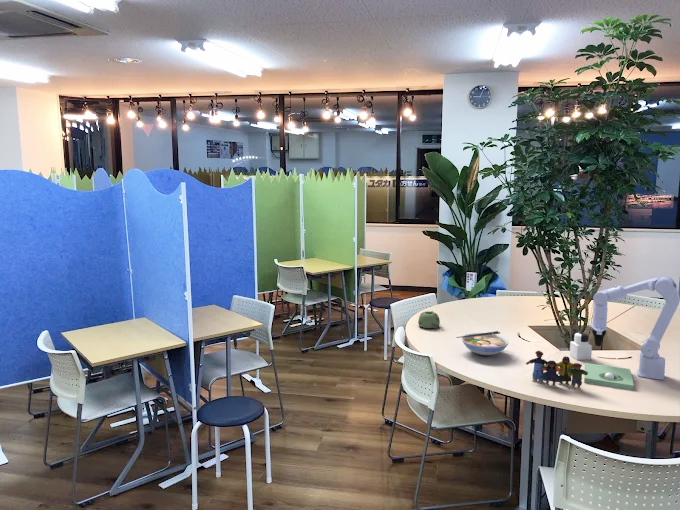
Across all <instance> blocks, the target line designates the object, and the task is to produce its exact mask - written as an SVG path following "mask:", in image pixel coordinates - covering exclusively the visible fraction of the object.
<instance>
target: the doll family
mask: <svg viewBox="0 0 680 510" xmlns="http://www.w3.org/2000/svg"><path fill="white" fill-rule="evenodd" d="M535 355H536V357H535V358H532V359H530V360H529V361H527V362H526V363H525V364H526V365H527V366H528V365H529V364H531V365H532V364H534V366H533V371H532V380H531V381H532V382H533V383H537V382H538V383H540V384H544V387H547V388H548V387H552V388H554V389H555V388H556V389H557V385H556V383H558V384H559V385H560V386H566V387H569V389H570V390H571V391H574V390H577V391H582V388H581V386H582V385H583V381H582V380H583V378H582V377H583V376H584V375H588V372H586V371H585V369H581V368H582V367H583V365H582V363H578V362H575V363H573V362H571V359H570V357H569V356H566V355H565V356H563V358H561V359H562V360H561V361H559V362H556V361H555V360H548V361H547V360H546V359H543V358H542V357H543V355H544V352H543V351H541V350H537V351H535ZM557 372H558V373H557ZM544 382H545V383H544ZM550 382H552V384H551V386H550V384H549V383H550ZM564 382H565V383H564ZM569 382H570V383H569ZM576 385H577V387H576Z"/></svg>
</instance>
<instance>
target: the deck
mask: <svg viewBox="0 0 680 510" xmlns="http://www.w3.org/2000/svg"><path fill="white" fill-rule="evenodd" d="M584 370H585V371H586V372H588V375H584V374H583V378H584V382H583V383H584V384H592V385H597V386H602V387H603V386H605V387H609V388H610V387H611V388H618V389H624V390H630V391H634V387H635V384H634V379H633V375H632V371H631V369H630V368H624V367H617V366H613V365H611V366H610V365H603V364H596V363H589V362H584ZM606 373H612V374H613V375H614V379H608V378H606V377H605V374H606Z"/></svg>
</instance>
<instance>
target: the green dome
mask: <svg viewBox="0 0 680 510" xmlns="http://www.w3.org/2000/svg"><path fill="white" fill-rule="evenodd" d="M440 320H441V319H440V316H439V314H438V313H436V312H435V311H433V310H431V311H429V310H428V311H423V312H421V313H420V315H419V316H418V320H417V321H418V322H417V323H418V326H419V327H420V328H422V327H423V329H426V328H434V329H437V328H438V327H440V324H441V321H440Z"/></svg>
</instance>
